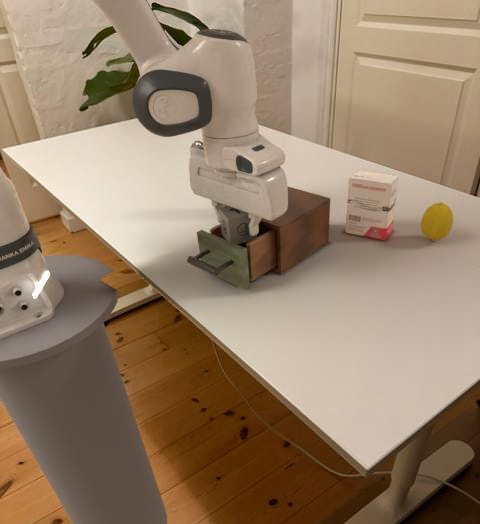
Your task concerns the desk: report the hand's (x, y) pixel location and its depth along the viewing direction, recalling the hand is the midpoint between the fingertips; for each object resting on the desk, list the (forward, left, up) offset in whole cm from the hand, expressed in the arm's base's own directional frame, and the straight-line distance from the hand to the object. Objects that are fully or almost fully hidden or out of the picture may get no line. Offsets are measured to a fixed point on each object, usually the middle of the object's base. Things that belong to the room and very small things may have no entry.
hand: (238, 228), depth 82 cm
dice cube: (0, 0, -2) cm, 2 cm away
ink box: (+27, -10, -9) cm, 30 cm away
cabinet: (+11, 0, -9) cm, 14 cm away
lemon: (+31, -22, -9) cm, 39 cm away
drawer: (-1, 0, -8) cm, 8 cm away
